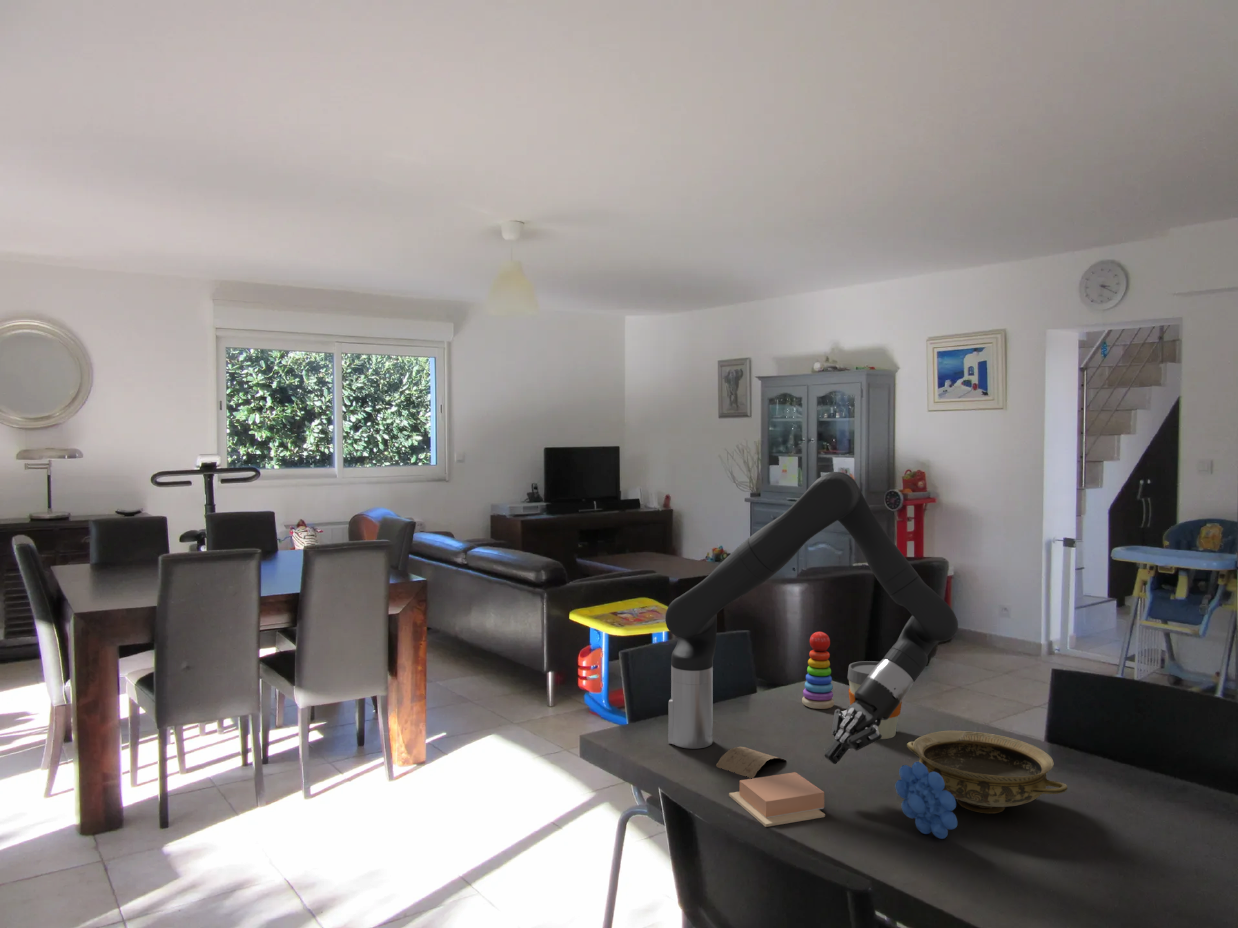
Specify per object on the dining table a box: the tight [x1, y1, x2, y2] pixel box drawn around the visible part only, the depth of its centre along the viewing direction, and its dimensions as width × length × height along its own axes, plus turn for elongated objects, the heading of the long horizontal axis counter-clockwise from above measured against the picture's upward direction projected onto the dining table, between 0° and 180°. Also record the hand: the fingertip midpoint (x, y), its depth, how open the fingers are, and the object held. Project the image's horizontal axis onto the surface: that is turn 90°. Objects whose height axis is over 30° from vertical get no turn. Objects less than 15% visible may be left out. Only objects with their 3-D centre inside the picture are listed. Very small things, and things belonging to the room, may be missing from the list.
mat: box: [728, 791, 826, 828], centre depth 157 cm, size 12×14×1 cm
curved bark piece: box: [715, 746, 787, 779], centre depth 178 cm, size 14×10×3 cm
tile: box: [738, 771, 825, 818], centre depth 158 cm, size 3×10×12 cm
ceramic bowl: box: [906, 730, 1068, 814], centre depth 158 cm, size 30×24×10 cm
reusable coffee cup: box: [847, 660, 903, 740], centre depth 197 cm, size 13×13×15 cm
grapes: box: [894, 761, 958, 840], centre depth 145 cm, size 12×7×12 cm, turn 37°
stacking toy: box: [801, 631, 835, 710], centre depth 217 cm, size 8×8×19 cm
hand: (829, 760), depth 161 cm, fingers closed
